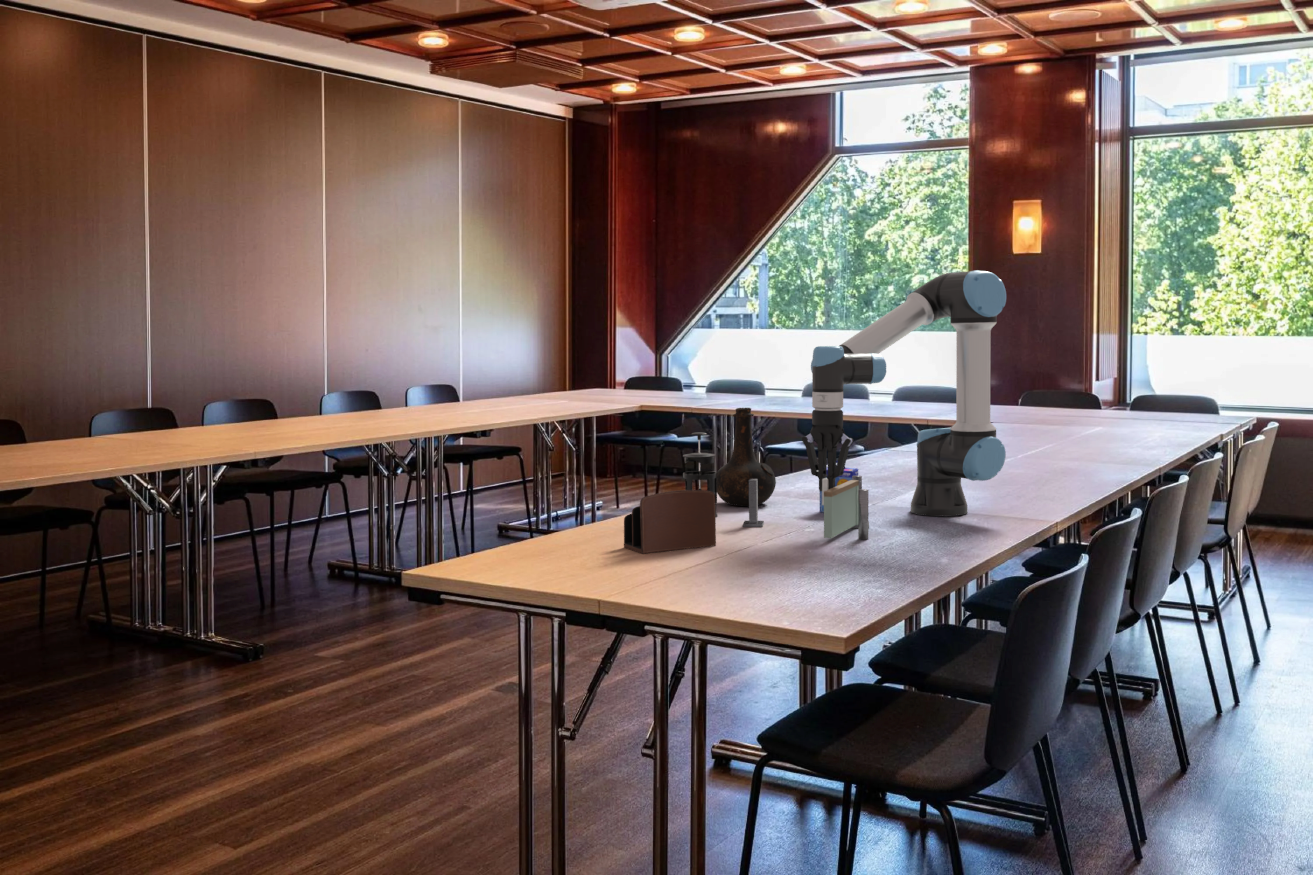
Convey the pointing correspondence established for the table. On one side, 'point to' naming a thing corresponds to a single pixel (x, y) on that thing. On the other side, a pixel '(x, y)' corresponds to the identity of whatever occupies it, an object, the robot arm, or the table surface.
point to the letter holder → (671, 522)
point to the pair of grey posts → (862, 527)
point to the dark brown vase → (744, 467)
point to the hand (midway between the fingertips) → (826, 504)
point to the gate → (840, 508)
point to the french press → (701, 475)
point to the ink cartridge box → (840, 480)
